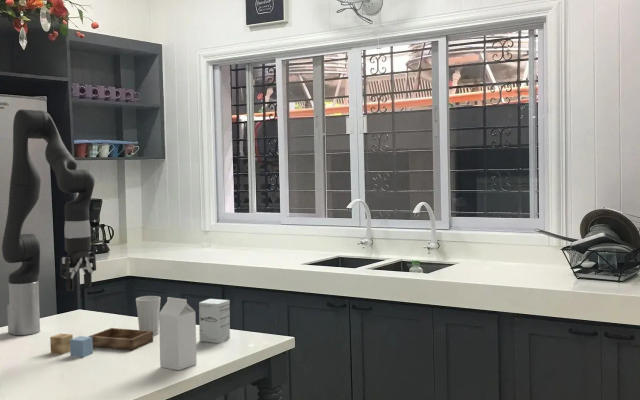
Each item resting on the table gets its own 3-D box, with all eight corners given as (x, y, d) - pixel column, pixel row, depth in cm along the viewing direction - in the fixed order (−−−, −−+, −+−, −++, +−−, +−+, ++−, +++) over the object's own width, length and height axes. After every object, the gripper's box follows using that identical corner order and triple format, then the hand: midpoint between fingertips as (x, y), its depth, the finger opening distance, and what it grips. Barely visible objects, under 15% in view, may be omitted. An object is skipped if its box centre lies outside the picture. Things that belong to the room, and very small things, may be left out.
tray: (88, 346, 220) (88, 336, 220) (111, 338, 231) (111, 327, 230) (131, 350, 214) (131, 339, 214) (153, 341, 225) (152, 331, 225)
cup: (164, 331, 239) (163, 296, 238) (156, 337, 231) (155, 300, 230) (141, 331, 240) (140, 295, 239) (133, 336, 232) (132, 300, 231)
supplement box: (198, 342, 224) (197, 302, 223) (210, 336, 231) (210, 298, 230) (219, 343, 221) (218, 303, 221) (230, 338, 228) (230, 299, 228)
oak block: (50, 353, 213) (50, 336, 213) (60, 349, 217) (60, 333, 217) (63, 354, 211) (62, 338, 211) (73, 350, 216) (72, 334, 215)
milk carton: (179, 371, 193) (177, 301, 192) (160, 367, 196) (158, 299, 195) (196, 364, 199) (195, 297, 198) (178, 361, 202) (176, 295, 201)
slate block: (70, 356, 209) (69, 339, 209) (80, 352, 214) (79, 336, 213) (83, 357, 208) (82, 340, 208) (92, 353, 212) (92, 337, 212)
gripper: (81, 232, 223) (83, 284, 224) (51, 237, 210) (53, 292, 211) (102, 233, 221) (103, 285, 222) (73, 238, 208) (74, 293, 208)
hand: (79, 288), depth 216 cm, fingers open, 8 cm apart
